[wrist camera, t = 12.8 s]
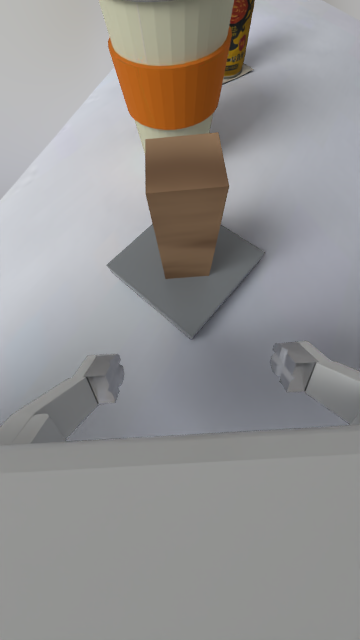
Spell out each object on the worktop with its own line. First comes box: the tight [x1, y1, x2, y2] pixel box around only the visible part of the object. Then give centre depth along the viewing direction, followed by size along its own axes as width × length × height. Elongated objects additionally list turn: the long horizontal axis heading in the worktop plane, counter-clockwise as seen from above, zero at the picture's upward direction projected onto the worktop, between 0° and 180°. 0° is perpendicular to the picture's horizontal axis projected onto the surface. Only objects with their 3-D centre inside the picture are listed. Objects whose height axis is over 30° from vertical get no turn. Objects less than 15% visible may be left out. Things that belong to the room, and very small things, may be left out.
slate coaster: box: [107, 224, 265, 340], centre depth 19 cm, size 12×12×2 cm
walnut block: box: [145, 132, 229, 279], centre depth 14 cm, size 4×4×9 cm
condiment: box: [222, 0, 255, 84], centre depth 26 cm, size 7×8×12 cm
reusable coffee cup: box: [99, 0, 234, 153], centre depth 19 cm, size 13×13×15 cm
